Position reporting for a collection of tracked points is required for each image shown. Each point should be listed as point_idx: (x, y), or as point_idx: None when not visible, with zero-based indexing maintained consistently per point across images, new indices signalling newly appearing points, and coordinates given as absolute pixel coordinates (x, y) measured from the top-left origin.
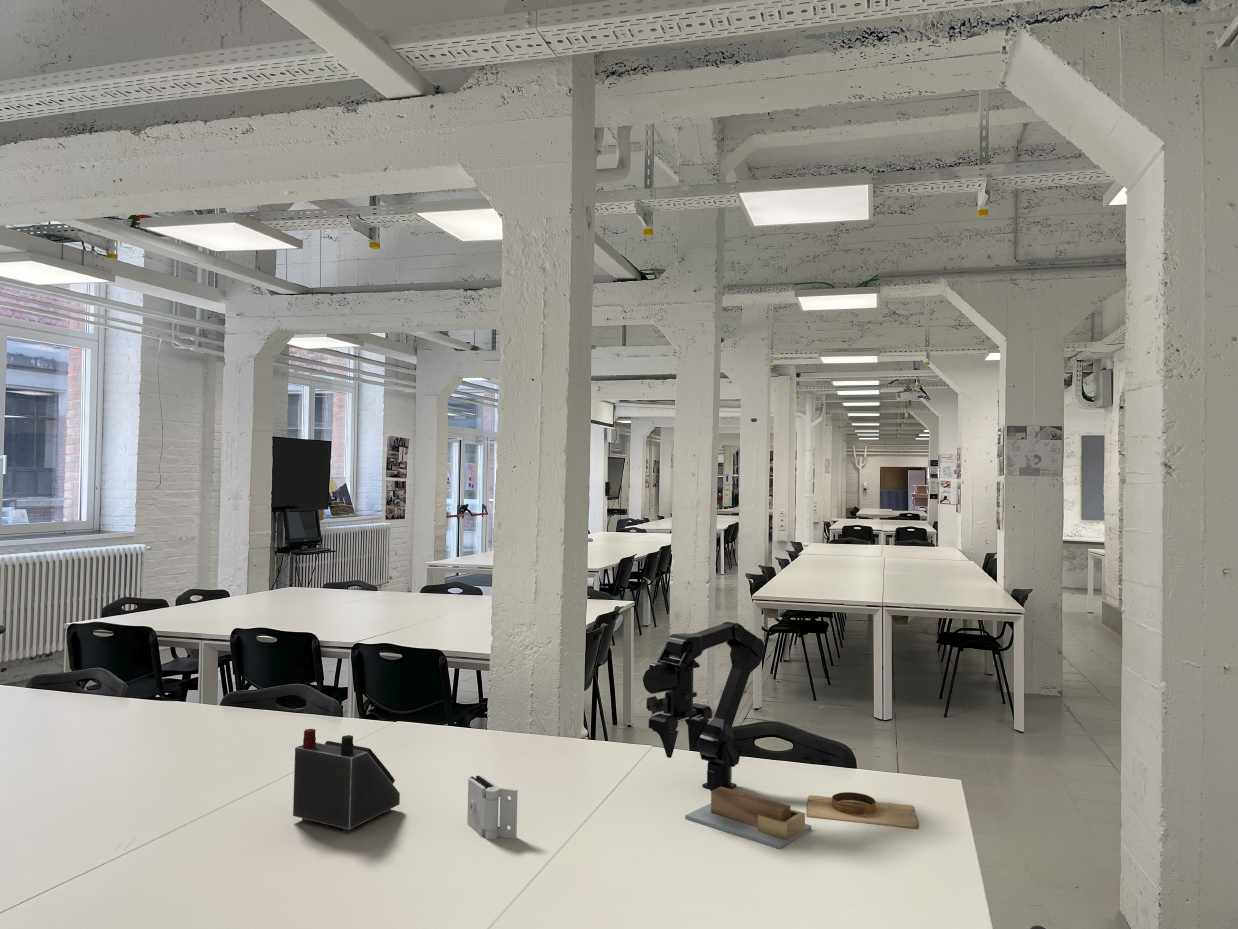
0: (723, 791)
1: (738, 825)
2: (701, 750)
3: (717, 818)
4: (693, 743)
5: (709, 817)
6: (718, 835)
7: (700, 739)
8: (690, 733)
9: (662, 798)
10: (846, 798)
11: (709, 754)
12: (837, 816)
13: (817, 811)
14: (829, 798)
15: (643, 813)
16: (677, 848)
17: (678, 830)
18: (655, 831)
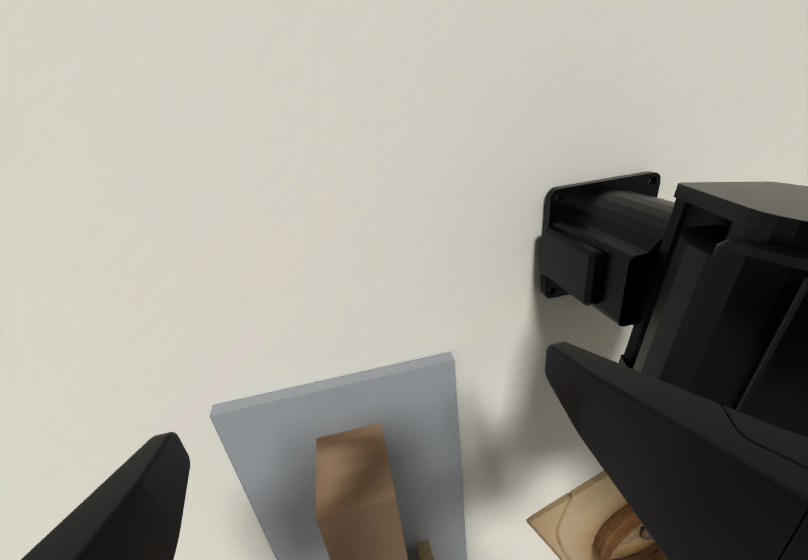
0: (355, 538)
1: (314, 531)
2: (678, 274)
3: (298, 477)
4: (581, 421)
5: (280, 463)
6: (226, 529)
7: (783, 297)
8: (684, 466)
9: (286, 175)
10: None
11: (651, 331)
12: (567, 546)
13: (569, 516)
14: None
15: (57, 271)
16: (19, 556)
17: (115, 464)
18: (7, 440)
